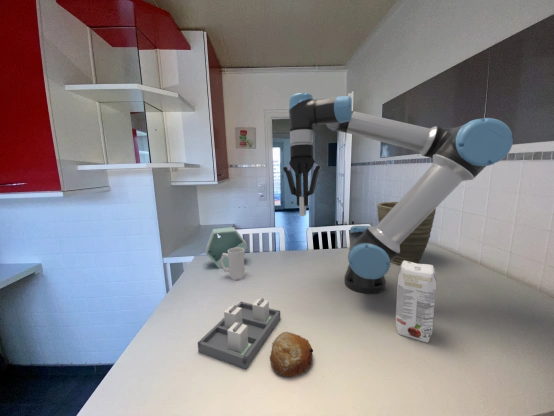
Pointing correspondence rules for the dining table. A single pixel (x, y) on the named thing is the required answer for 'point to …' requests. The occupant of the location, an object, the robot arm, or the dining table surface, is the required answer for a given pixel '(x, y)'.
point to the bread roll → (290, 354)
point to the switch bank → (257, 335)
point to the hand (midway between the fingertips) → (302, 215)
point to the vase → (410, 236)
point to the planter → (223, 244)
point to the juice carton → (416, 300)
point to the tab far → (260, 310)
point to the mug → (235, 263)
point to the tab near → (237, 337)
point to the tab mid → (232, 316)
